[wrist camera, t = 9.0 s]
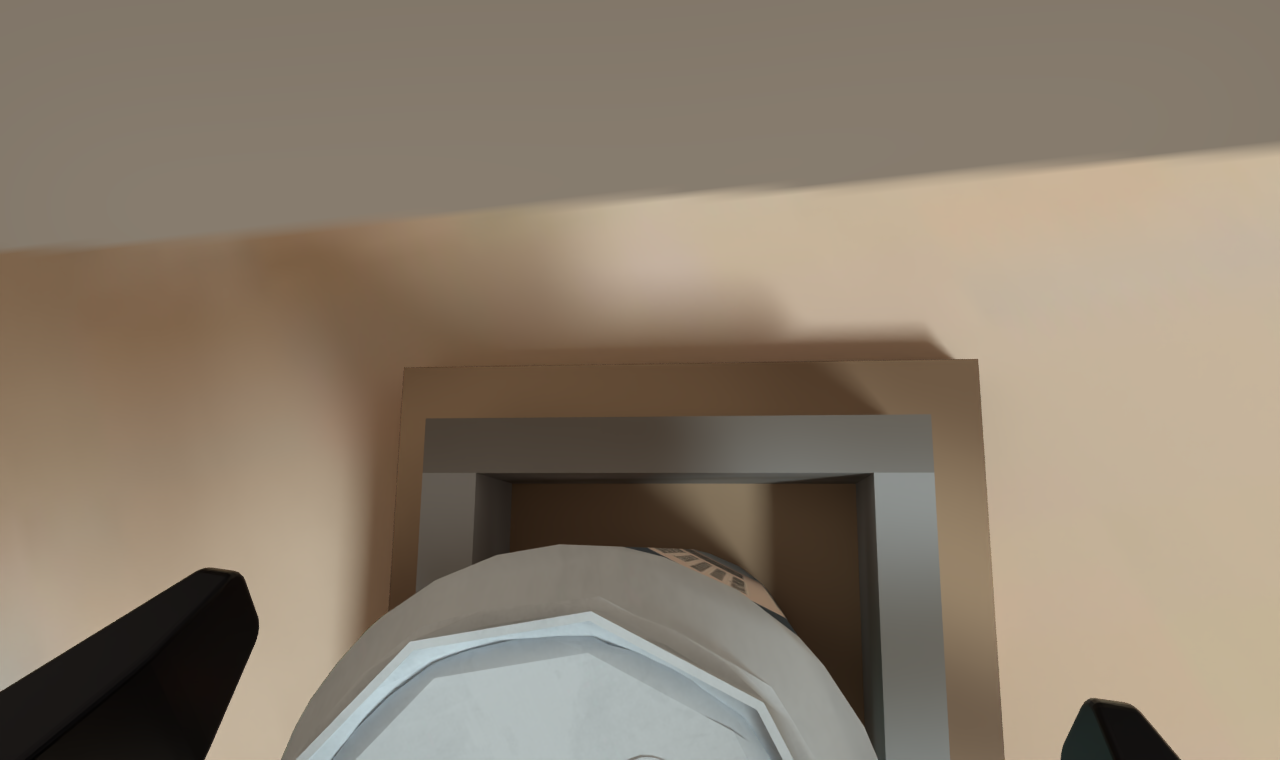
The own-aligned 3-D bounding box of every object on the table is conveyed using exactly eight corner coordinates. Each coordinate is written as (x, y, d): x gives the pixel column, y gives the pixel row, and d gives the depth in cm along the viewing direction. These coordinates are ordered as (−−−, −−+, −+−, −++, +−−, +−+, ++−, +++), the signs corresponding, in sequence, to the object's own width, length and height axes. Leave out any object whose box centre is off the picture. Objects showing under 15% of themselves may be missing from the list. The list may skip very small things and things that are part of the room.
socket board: (1005, 1001, 16) (1076, 1121, 13) (386, 959, 18) (299, 1058, 14) (965, 369, 18) (1015, 327, 15) (420, 376, 20) (353, 340, 16)
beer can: (517, 617, 18) (71, 752, 6) (725, 505, 18) (698, 414, 6) (626, 851, 16) (347, 1583, 5) (848, 732, 16) (1116, 1179, 5)
